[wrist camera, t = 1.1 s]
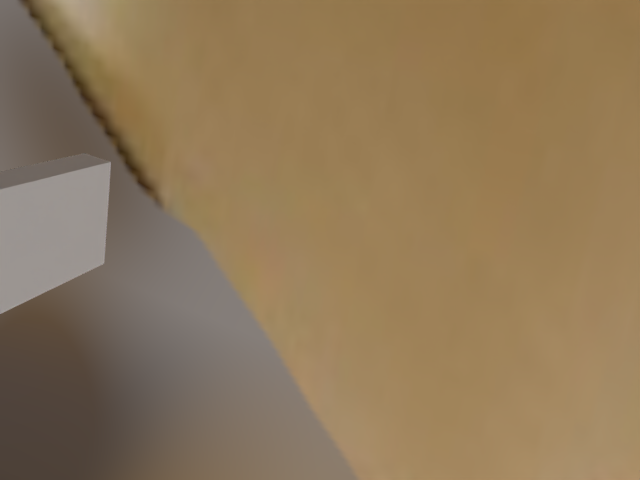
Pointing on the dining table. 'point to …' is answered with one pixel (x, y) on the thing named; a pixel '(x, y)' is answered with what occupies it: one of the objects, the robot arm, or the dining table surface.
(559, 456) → the dining table surface
